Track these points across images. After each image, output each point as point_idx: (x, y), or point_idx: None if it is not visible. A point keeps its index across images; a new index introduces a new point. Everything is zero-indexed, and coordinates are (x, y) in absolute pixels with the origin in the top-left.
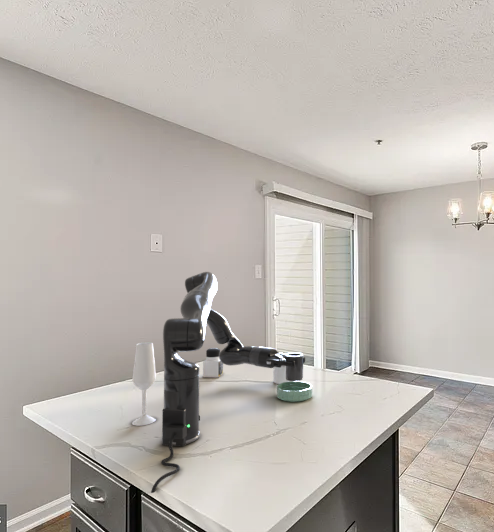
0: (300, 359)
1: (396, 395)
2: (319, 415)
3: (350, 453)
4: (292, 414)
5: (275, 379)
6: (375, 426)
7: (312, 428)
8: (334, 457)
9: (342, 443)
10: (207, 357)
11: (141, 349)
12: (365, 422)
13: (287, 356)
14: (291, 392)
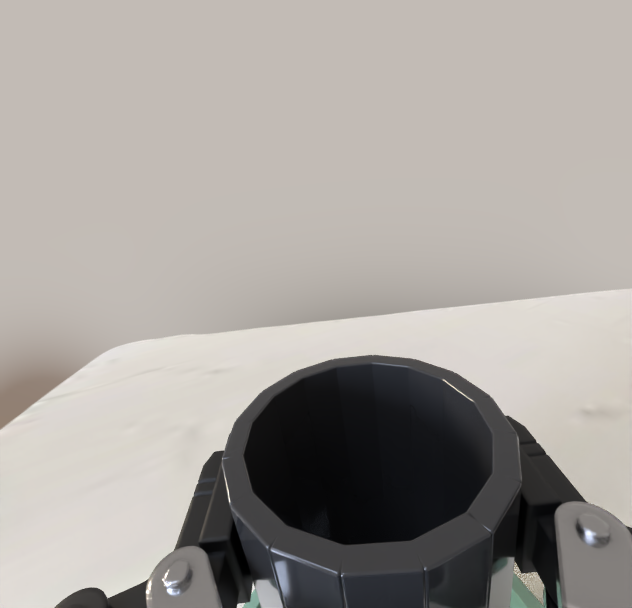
0: (375, 390)
1: (181, 365)
2: None
3: (568, 298)
4: (613, 495)
5: None
6: (422, 320)
7: (589, 377)
8: (613, 301)
9: (556, 315)
10: None
11: None
12: (420, 334)
13: (519, 453)
14: (524, 591)
